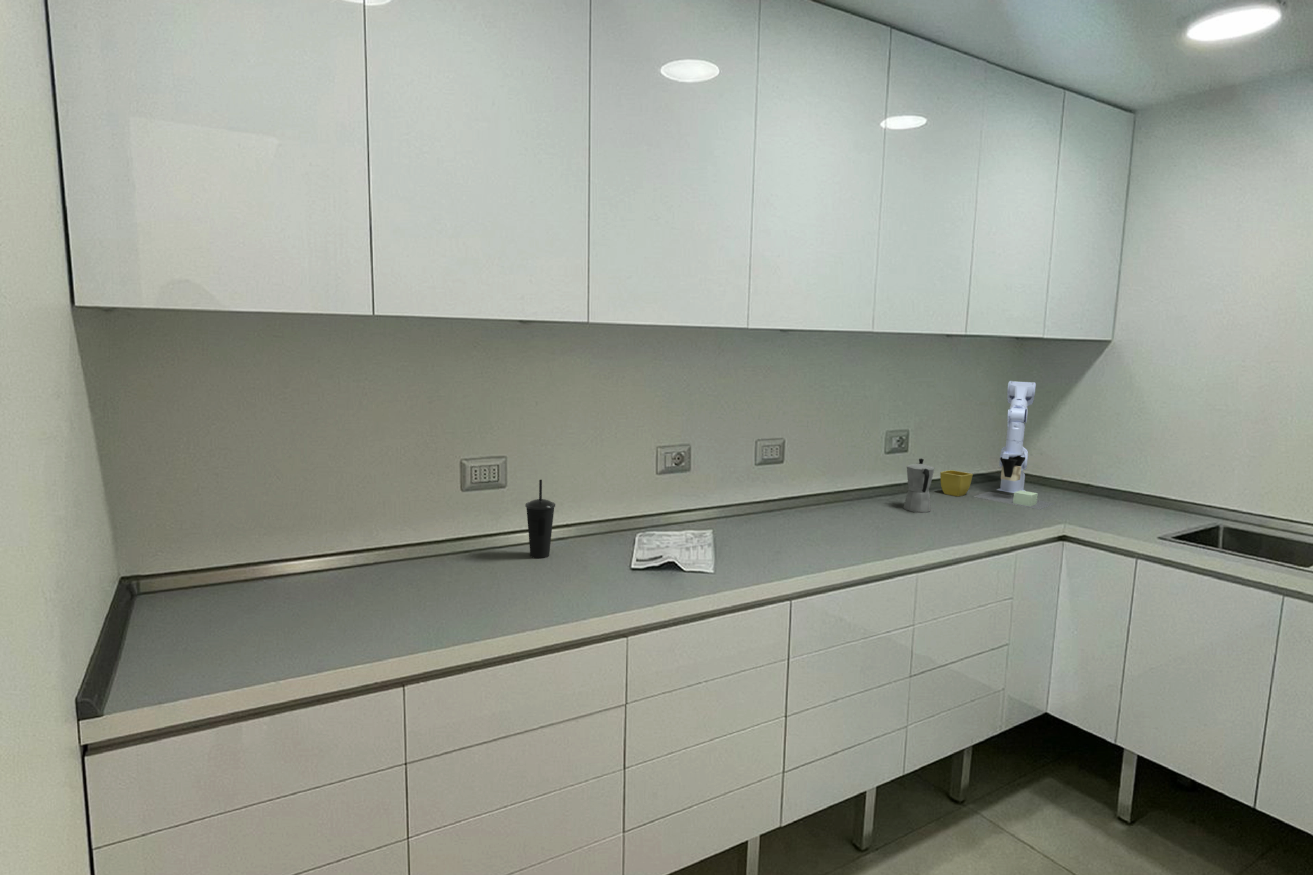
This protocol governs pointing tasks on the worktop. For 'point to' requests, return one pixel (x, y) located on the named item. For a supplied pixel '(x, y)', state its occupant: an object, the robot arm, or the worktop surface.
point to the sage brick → (1025, 498)
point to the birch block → (1015, 474)
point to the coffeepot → (919, 487)
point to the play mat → (1010, 499)
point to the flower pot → (955, 482)
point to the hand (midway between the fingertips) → (1010, 476)
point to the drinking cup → (540, 525)
